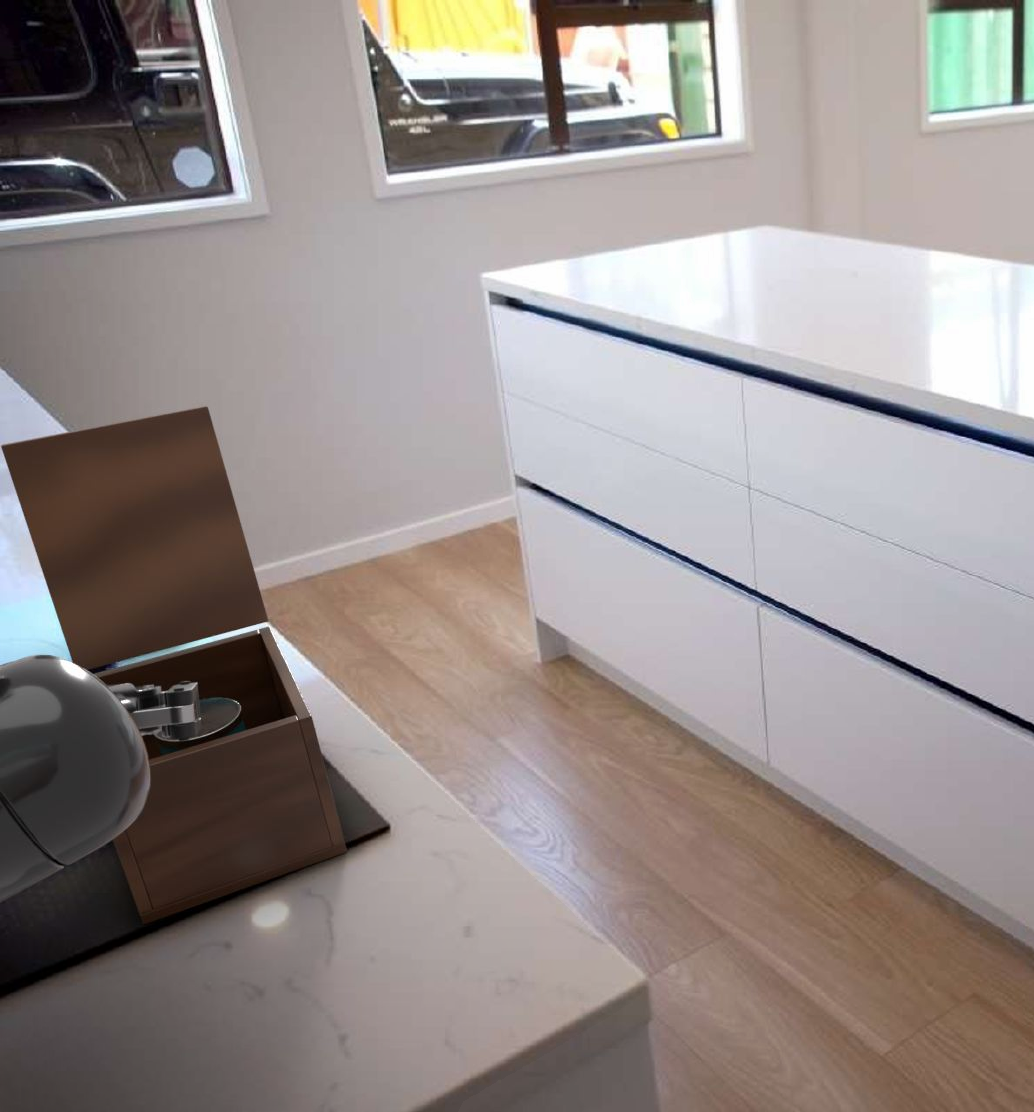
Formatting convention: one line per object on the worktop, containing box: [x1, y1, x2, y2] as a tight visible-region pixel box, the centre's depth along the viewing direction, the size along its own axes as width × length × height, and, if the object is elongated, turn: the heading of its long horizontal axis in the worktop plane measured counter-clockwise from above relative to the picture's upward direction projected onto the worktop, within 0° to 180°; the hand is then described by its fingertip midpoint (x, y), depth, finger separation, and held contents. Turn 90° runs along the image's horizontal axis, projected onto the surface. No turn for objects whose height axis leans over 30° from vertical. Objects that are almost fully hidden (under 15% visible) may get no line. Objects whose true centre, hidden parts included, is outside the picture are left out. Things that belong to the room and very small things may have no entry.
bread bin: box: [93, 625, 348, 925], centre depth 87 cm, size 16×13×11 cm
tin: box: [153, 698, 246, 756], centre depth 86 cm, size 5×5×9 cm
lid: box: [0, 405, 269, 671], centre depth 88 cm, size 16×13×1 cm
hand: (57, 714), depth 71 cm, fingers open, 8 cm apart
